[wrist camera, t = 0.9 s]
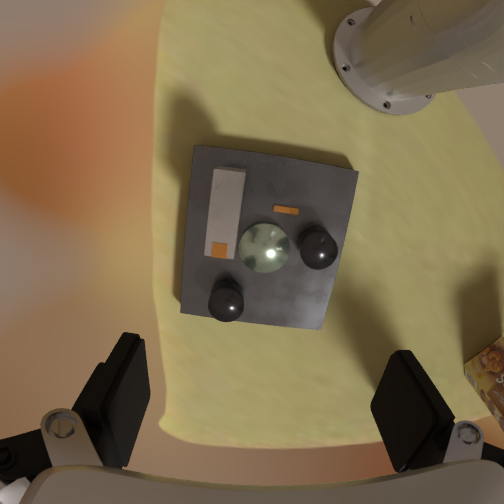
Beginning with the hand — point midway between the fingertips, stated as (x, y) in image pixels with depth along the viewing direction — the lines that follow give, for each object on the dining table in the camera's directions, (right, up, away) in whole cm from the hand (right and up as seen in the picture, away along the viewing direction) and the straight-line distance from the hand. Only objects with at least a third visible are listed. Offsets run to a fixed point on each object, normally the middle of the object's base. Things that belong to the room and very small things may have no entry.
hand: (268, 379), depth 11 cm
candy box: (+38, -13, +29) cm, 49 cm away
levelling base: (+1, +6, +22) cm, 23 cm away
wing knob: (-3, +9, +19) cm, 21 cm away
